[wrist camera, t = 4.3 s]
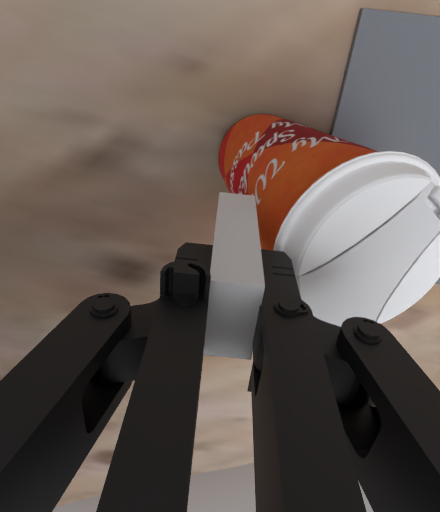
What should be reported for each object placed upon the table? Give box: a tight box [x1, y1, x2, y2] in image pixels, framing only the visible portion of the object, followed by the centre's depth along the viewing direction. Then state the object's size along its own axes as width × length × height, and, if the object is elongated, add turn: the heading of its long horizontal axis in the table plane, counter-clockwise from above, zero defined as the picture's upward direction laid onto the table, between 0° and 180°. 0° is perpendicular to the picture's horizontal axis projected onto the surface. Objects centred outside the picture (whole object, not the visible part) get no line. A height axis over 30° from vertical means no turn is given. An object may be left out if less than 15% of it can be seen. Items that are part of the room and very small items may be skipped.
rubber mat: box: [330, 8, 440, 284], centre depth 26 cm, size 16×18×1 cm
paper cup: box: [219, 114, 440, 327], centre depth 20 cm, size 8×8×14 cm
